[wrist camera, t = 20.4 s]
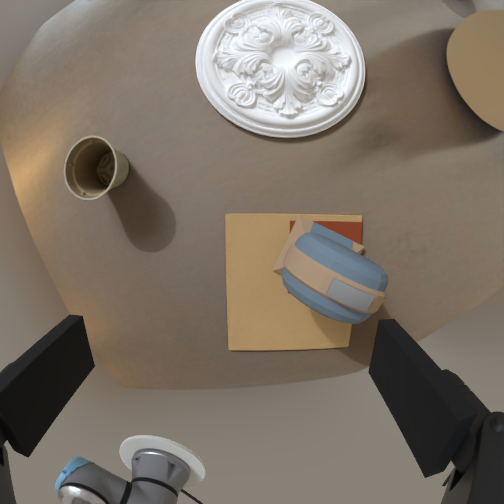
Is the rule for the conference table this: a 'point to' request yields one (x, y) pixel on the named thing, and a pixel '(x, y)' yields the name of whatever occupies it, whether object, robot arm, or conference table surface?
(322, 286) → the alarm clock
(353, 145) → the conference table surface
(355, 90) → the ceiling medallion
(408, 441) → the robot arm
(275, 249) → the mat
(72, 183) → the flower pot
